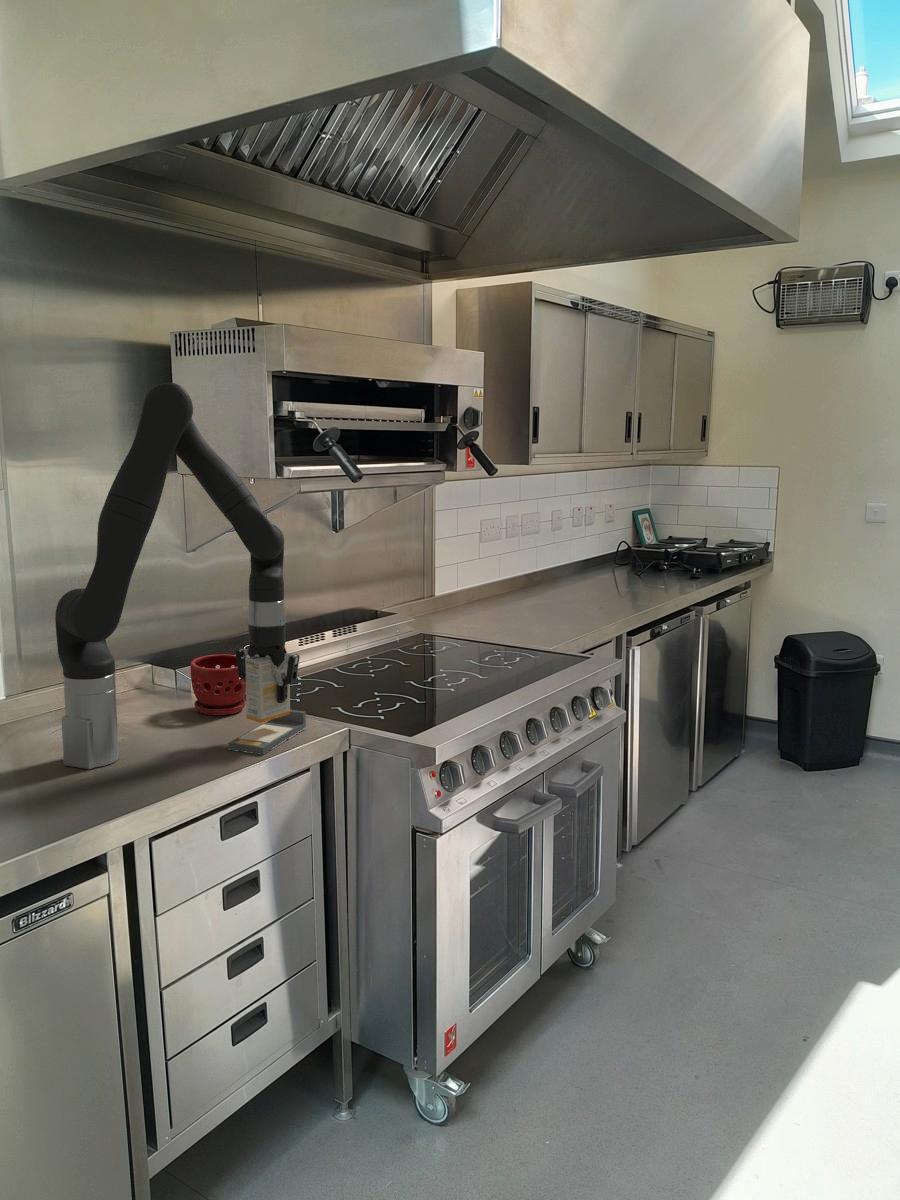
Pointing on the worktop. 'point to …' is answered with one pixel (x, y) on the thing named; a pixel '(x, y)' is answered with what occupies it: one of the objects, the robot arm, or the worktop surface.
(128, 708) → the worktop surface
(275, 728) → the plate
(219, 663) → the plant pot
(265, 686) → the supplement box
